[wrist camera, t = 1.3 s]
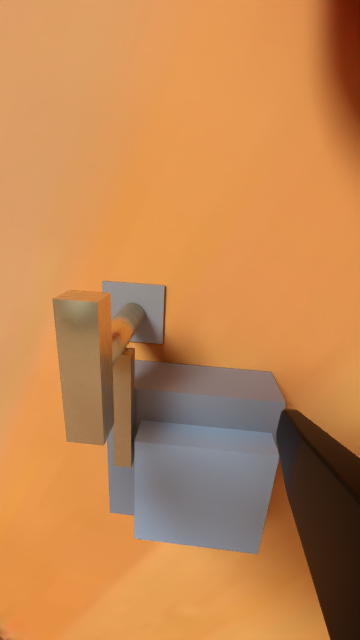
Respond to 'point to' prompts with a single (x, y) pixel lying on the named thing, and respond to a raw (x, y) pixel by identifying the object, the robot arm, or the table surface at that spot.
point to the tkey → (97, 369)
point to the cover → (202, 485)
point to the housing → (185, 390)
